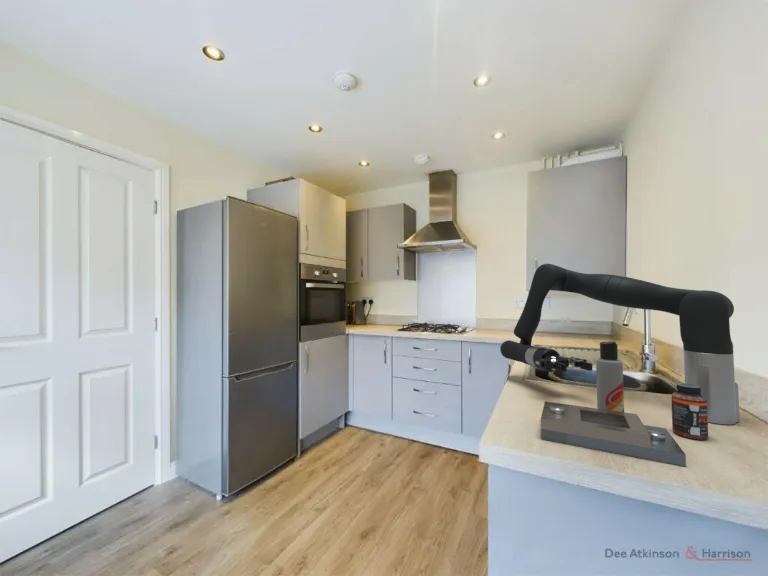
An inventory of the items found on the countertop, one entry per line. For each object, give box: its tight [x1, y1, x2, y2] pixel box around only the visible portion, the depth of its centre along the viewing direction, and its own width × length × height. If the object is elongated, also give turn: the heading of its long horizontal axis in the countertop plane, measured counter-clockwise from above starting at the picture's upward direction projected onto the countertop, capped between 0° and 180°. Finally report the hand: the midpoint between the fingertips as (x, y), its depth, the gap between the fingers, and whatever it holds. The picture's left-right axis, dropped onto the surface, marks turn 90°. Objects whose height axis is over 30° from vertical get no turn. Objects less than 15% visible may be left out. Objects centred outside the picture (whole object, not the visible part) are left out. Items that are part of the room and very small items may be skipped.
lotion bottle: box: [595, 340, 625, 412], centre depth 83 cm, size 6×6×20 cm
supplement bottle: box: [671, 382, 709, 441], centre depth 73 cm, size 6×6×11 cm
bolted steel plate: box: [540, 401, 687, 468], centre depth 71 cm, size 24×14×5 cm, turn 60°
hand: (578, 367), depth 94 cm, fingers open, 8 cm apart
